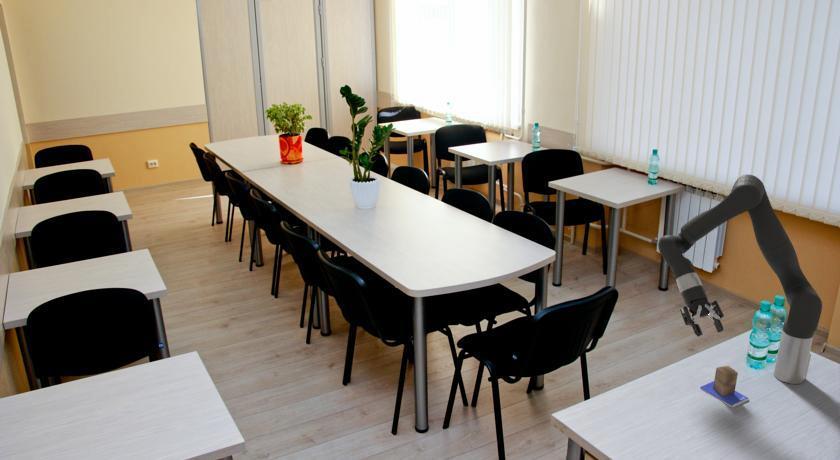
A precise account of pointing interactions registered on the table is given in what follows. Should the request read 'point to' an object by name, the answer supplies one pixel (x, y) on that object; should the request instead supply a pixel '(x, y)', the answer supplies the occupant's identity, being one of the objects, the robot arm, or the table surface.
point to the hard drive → (728, 399)
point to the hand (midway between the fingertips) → (710, 333)
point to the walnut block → (725, 380)
